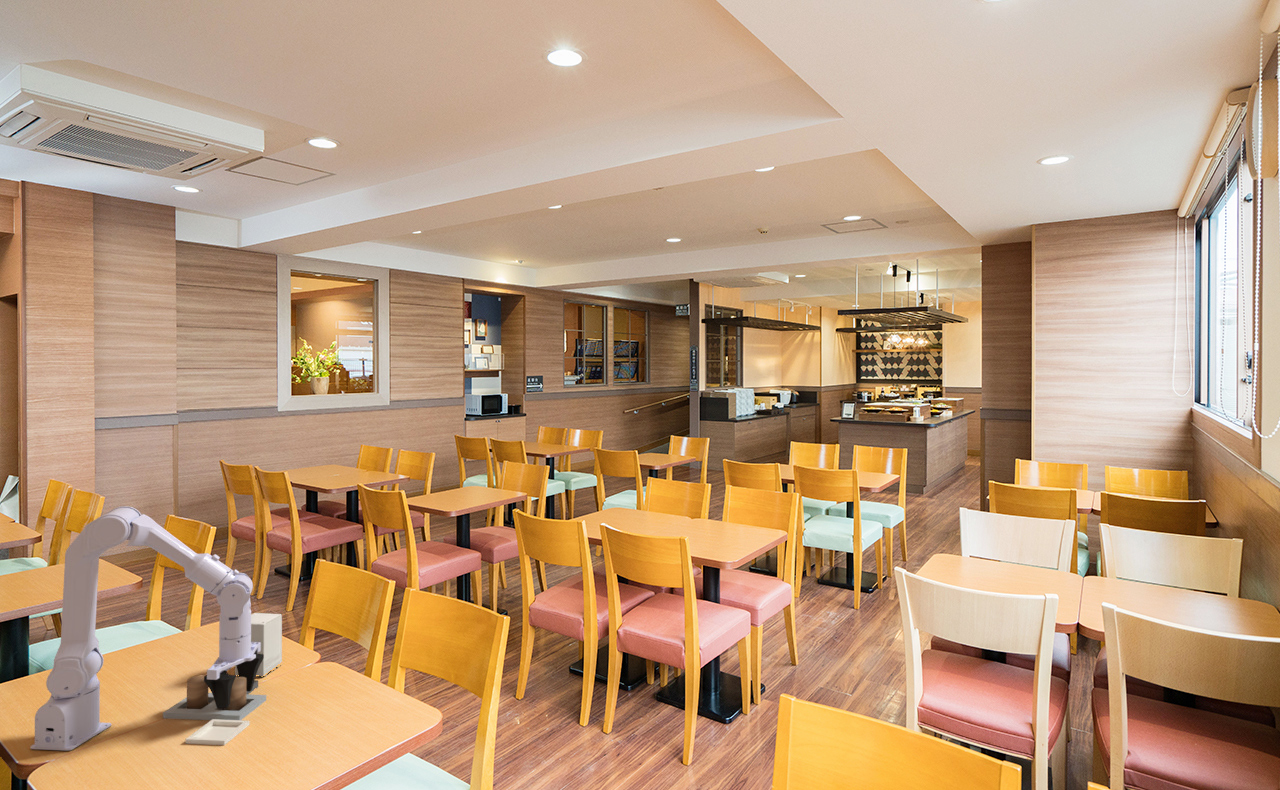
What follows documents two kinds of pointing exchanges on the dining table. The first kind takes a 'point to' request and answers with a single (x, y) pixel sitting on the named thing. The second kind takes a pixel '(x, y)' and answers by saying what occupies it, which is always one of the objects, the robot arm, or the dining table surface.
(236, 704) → the cylinder
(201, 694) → the cylinder
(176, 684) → the dining table surface
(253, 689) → the switch box
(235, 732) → the white square tray
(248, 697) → the grey frame
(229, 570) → the robot arm
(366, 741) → the dining table surface
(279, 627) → the supplement box
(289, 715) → the dining table surface
